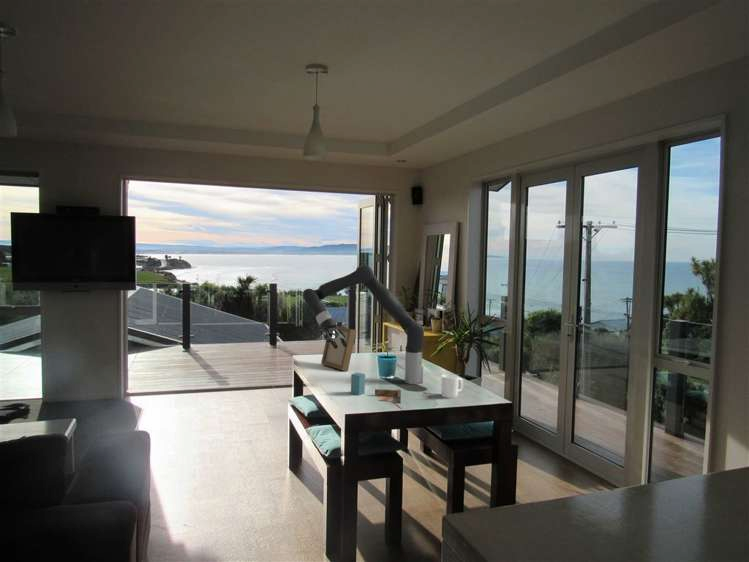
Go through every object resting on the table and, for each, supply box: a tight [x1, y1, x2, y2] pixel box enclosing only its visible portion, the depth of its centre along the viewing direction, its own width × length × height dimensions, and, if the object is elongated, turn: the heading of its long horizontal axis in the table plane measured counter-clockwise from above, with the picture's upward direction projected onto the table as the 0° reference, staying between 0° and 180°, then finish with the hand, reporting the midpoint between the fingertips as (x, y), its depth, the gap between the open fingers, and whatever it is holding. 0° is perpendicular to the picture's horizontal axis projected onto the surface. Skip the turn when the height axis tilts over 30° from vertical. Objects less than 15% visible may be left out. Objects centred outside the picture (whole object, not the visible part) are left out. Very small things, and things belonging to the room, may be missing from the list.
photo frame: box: [320, 325, 357, 372], centre depth 338 cm, size 15×22×25 cm
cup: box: [440, 374, 464, 399], centre depth 279 cm, size 8×12×10 cm
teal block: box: [350, 372, 366, 396], centre depth 279 cm, size 5×5×10 cm
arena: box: [374, 388, 402, 404], centre depth 270 cm, size 13×13×3 cm
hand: (341, 347), depth 284 cm, fingers open, 8 cm apart
